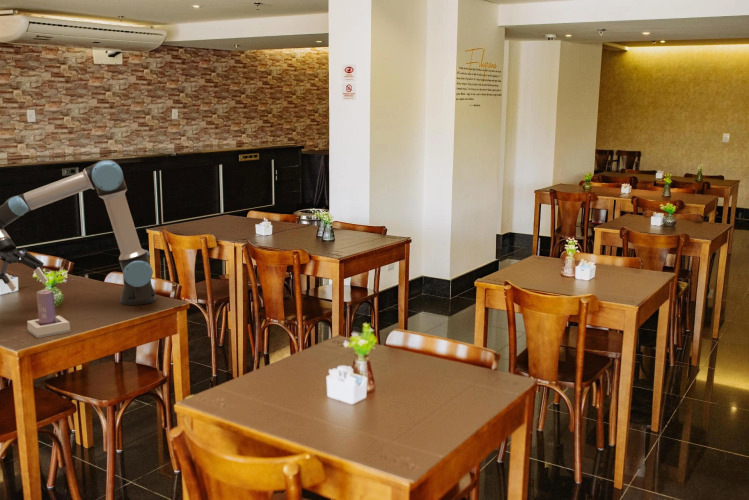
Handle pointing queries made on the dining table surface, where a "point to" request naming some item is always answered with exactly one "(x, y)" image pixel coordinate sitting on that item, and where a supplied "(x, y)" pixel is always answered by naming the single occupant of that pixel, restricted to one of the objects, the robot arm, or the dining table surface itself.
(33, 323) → the holder
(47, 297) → the beverage can
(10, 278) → the robot arm
